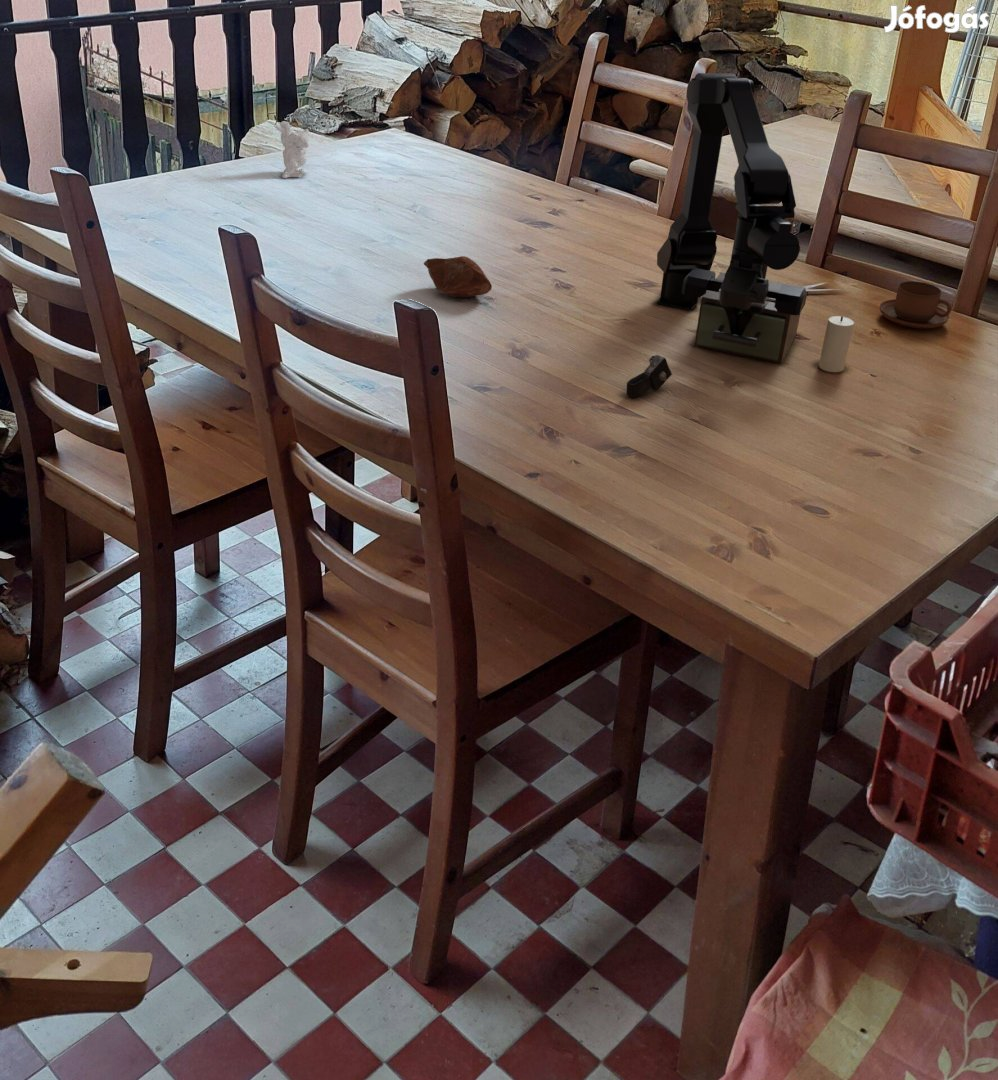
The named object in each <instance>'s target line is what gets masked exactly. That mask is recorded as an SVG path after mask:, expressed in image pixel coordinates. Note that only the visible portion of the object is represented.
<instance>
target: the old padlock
mask: <svg viewBox="0 0 998 1080" xmlns="http://www.w3.org/2000/svg"><path fill="white" fill-rule="evenodd" d="M648 362H649V364H648V366H647V367H646V368H645V369H644V371H643V372H642V373H640V374H638V375H635V376H633V377H632V378H631V379H629V380H628V381H627V382H626V396H627V397H630V398H632V399H637V398H639V397H641V396H643V395H644V394H646V393H647V392H648V391H650V389H652V390H654V391H658V390H659V389H660V388H661V387H662V386H663V385H664V383H666V381H667V380H668V379H669V378H670V377H672V375H673V373H672V372H671V369H670V367H669V365H668V361H667V358H666V357H664V356H662V355H658V354H655V355H652V356H651V357H650V358H649V359H648Z"/></svg>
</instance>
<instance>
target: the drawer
mask: <svg viewBox="0 0 998 1080" xmlns="http://www.w3.org/2000/svg"><path fill="white" fill-rule="evenodd" d="M742 313H743V310H740V320H741V317H742ZM785 321H786V318H785V317H782V316H777V315H771V314H766V313H755V314H754V315H753V316H752V318H751V319H750V321H749V323H748V325H747V327H746V329H745V330H744V332H743V334H742V336H741V335H736V334H731V331H730V326H729V321H728V317H727V314H726V312H725V310H724V309H723V307H722V306H718V305H717V304H712V303H710V304H706V303H704V304H703V306H702V312H701V319H700V326H699V332H698V339H697V344H698V345H703V346H708V347H713V348H718V349H723V350H728V351H733V352H738V353H743V354H748V355H753V356H758V357H763V358H768V359H773V360H777V359H778V358H779V353H780V347H781V342H782V337H783V332H784V326H785ZM739 324H740V321H739Z"/></svg>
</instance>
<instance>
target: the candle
mask: <svg viewBox="0 0 998 1080" xmlns="http://www.w3.org/2000/svg"><path fill="white" fill-rule="evenodd" d="M854 325H855V321H854V320H852V318H849V317H846V316H844V315H841V316H838V315H833V316H830V317H829V318H828V320H827V324H826V329H825V334H824V338H823V343H822V346H821V347H822V348H821V352H820V357H819V362H818V367H819V368H820V369H821V370H823V371H825V372H829V373H840V372H843V371H844V369H845V365H846V361H847V357H848V351H849V347H850V343H851V338H852V335H853V330H854Z"/></svg>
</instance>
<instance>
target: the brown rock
mask: <svg viewBox="0 0 998 1080" xmlns="http://www.w3.org/2000/svg"><path fill="white" fill-rule="evenodd" d="M423 265H424V266H425V268H427V271H428V275H429V277H430V278H431V280H432V283H433V284H434V287H435V288H436V290H437V291H438V292H440V293H441V294H444V295H447V296H449V297H451V298H452V297H453V298H466V299H467V298H471V297H476V296H483V295H486V294H488V293H489V292H490V291H492V288H493V285H492V283H491V282H490V279H488V276H486V275H487V274H485V272H484V270H483V269H482V268H481V266H480V265H479V264H478V263H477V262H475V261H474V260H473V259H471V258H469V257H468V256H463V255H461V256H454V257H448V258H441V257H439V258H438V257H435V258H434V257H433V258H427V259H426V260H425V261H424V262H423Z"/></svg>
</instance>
